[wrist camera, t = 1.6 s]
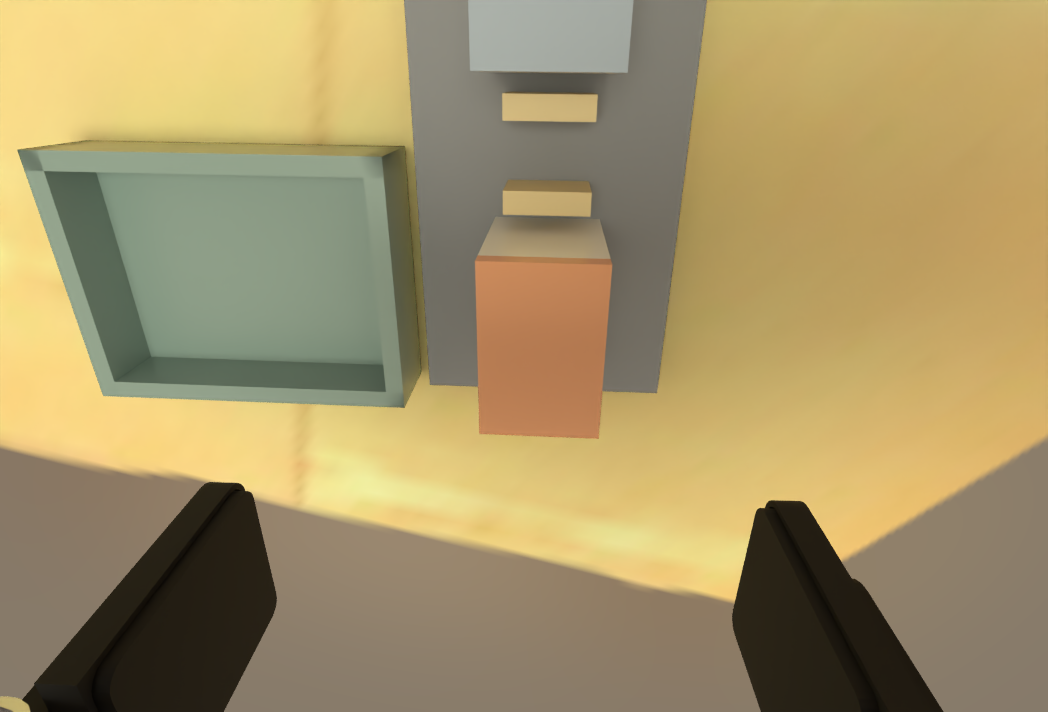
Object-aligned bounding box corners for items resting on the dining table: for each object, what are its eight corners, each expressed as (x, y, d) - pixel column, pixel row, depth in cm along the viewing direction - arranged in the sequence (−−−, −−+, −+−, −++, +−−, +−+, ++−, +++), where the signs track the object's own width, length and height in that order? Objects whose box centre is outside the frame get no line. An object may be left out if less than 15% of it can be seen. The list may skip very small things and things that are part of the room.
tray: (404, 146, 22) (381, 156, 20) (421, 371, 27) (404, 407, 24) (85, 140, 23) (17, 149, 20) (151, 362, 27) (103, 395, 24)
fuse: (599, 219, 22) (612, 264, 17) (589, 359, 25) (598, 438, 19) (495, 216, 22) (474, 261, 17) (496, 356, 25) (479, 433, 20)
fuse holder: (725, -201, 18) (818, -357, 11) (653, 382, 26) (683, 478, 20) (398, -198, 18) (311, -346, 12) (434, 374, 27) (395, 466, 20)
